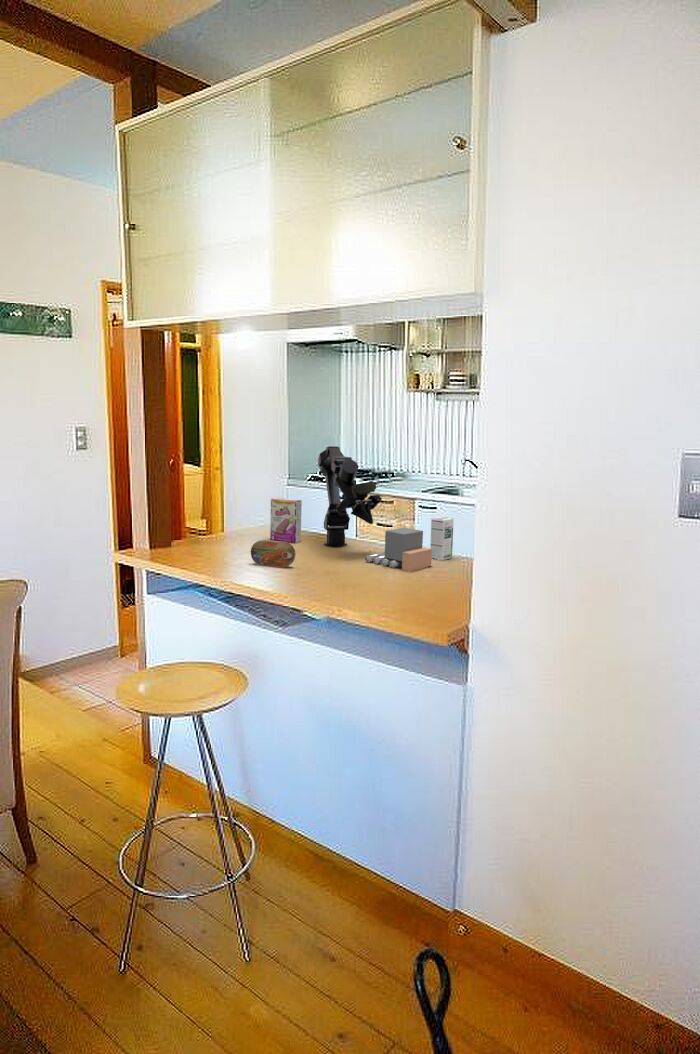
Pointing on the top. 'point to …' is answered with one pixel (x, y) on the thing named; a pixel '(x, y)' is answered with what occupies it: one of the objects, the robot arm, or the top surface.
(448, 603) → the top surface
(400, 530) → the grey block
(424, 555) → the block
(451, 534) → the syrup box
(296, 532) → the candy bar box
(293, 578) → the top surface
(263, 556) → the tin
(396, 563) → the roller track
